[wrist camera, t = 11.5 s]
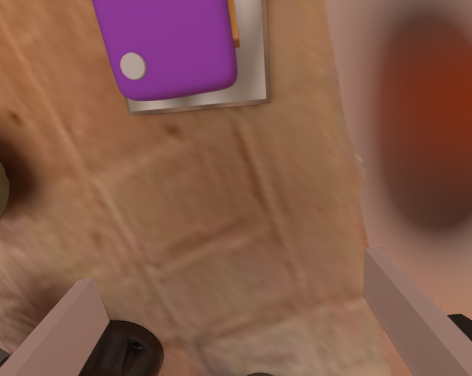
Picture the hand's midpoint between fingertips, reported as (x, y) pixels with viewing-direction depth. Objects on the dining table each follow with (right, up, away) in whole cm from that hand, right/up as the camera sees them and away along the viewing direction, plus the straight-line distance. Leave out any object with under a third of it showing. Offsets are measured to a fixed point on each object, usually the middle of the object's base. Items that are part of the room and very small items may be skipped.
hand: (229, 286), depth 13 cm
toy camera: (-5, +21, +14) cm, 25 cm away
